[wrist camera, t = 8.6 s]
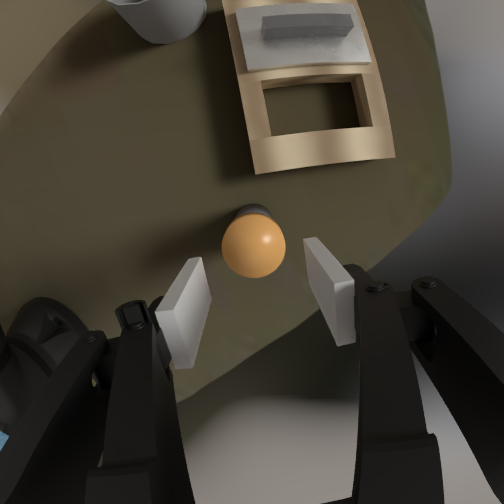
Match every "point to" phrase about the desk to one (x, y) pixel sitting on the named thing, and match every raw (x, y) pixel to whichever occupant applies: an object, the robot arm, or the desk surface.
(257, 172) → the socket board
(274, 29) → the shutter
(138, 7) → the cup
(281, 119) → the desk surface
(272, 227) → the orange grey cylinder
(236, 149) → the desk surface
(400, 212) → the desk surface
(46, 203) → the desk surface
